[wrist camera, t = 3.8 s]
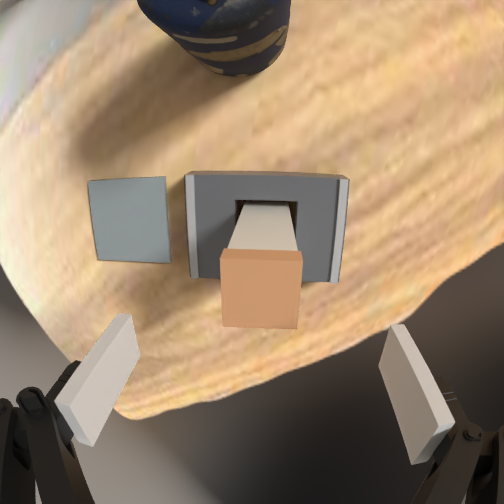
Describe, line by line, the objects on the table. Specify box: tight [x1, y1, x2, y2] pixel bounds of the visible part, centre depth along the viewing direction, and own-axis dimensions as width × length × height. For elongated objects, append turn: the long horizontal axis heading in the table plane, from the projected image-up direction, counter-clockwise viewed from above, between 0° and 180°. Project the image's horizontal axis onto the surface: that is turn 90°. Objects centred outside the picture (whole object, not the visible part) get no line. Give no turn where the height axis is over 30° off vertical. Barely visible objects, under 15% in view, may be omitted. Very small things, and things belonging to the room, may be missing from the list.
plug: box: [220, 201, 303, 329], centre depth 26 cm, size 5×5×16 cm
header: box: [184, 171, 350, 283], centre depth 32 cm, size 16×11×3 cm
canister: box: [137, 0, 291, 77], centre depth 18 cm, size 10×10×18 cm
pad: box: [88, 176, 172, 263], centre depth 34 cm, size 10×10×1 cm
